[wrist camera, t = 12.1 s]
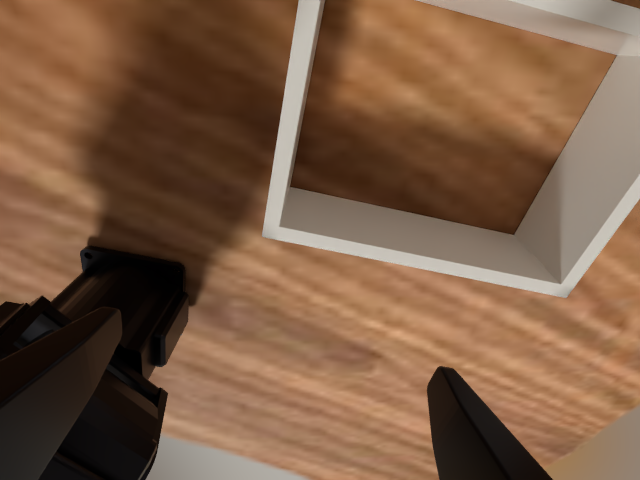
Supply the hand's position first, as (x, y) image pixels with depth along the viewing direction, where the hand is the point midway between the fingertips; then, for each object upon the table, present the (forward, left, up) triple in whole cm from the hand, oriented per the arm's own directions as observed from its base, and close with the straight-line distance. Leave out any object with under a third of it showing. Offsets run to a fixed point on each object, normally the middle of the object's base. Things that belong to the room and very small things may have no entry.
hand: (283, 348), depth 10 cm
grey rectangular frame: (+6, +5, -12) cm, 14 cm away
